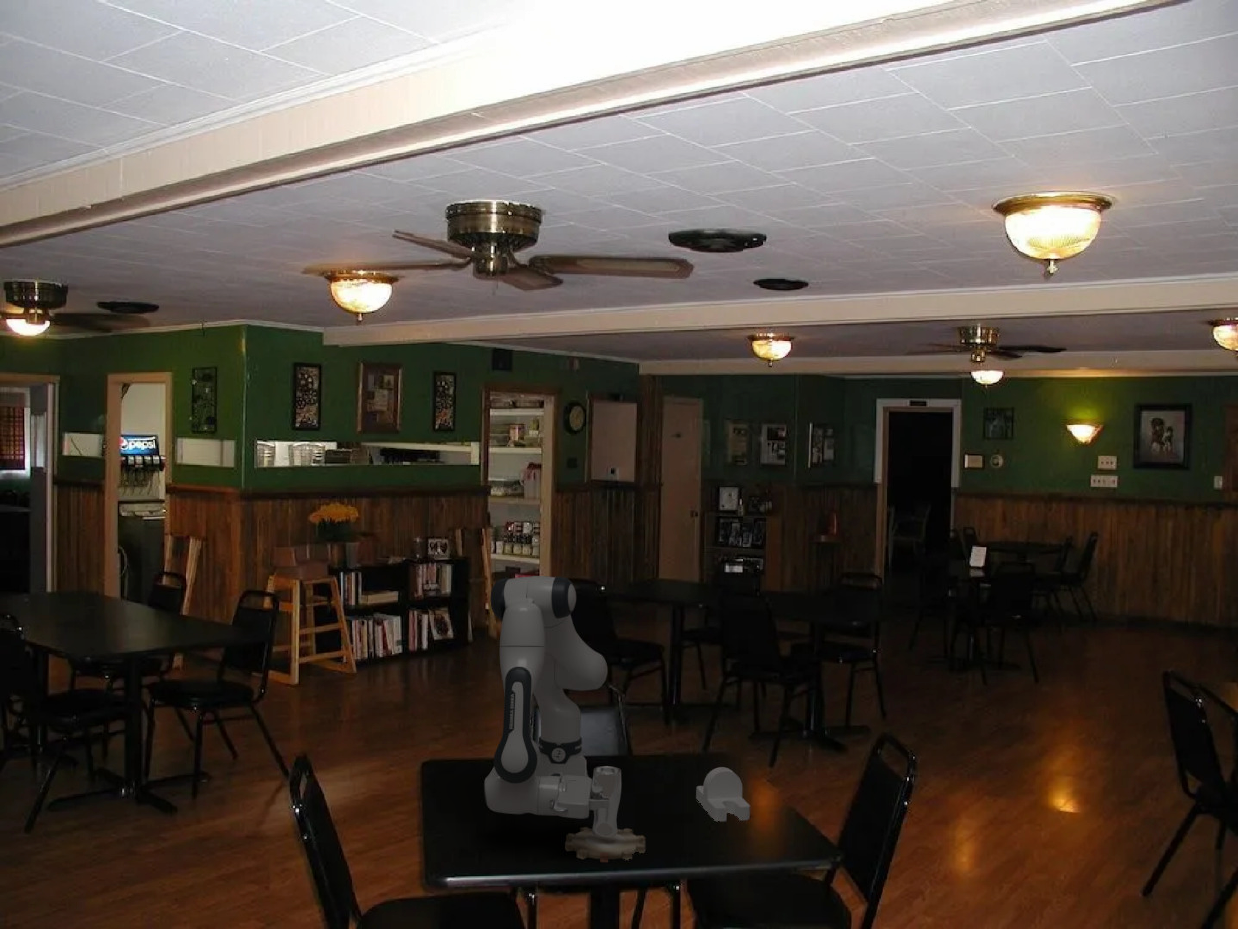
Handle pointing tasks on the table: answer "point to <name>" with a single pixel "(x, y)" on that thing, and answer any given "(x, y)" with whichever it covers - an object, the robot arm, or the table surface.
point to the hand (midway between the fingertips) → (609, 798)
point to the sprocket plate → (605, 845)
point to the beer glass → (606, 788)
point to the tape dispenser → (723, 795)
